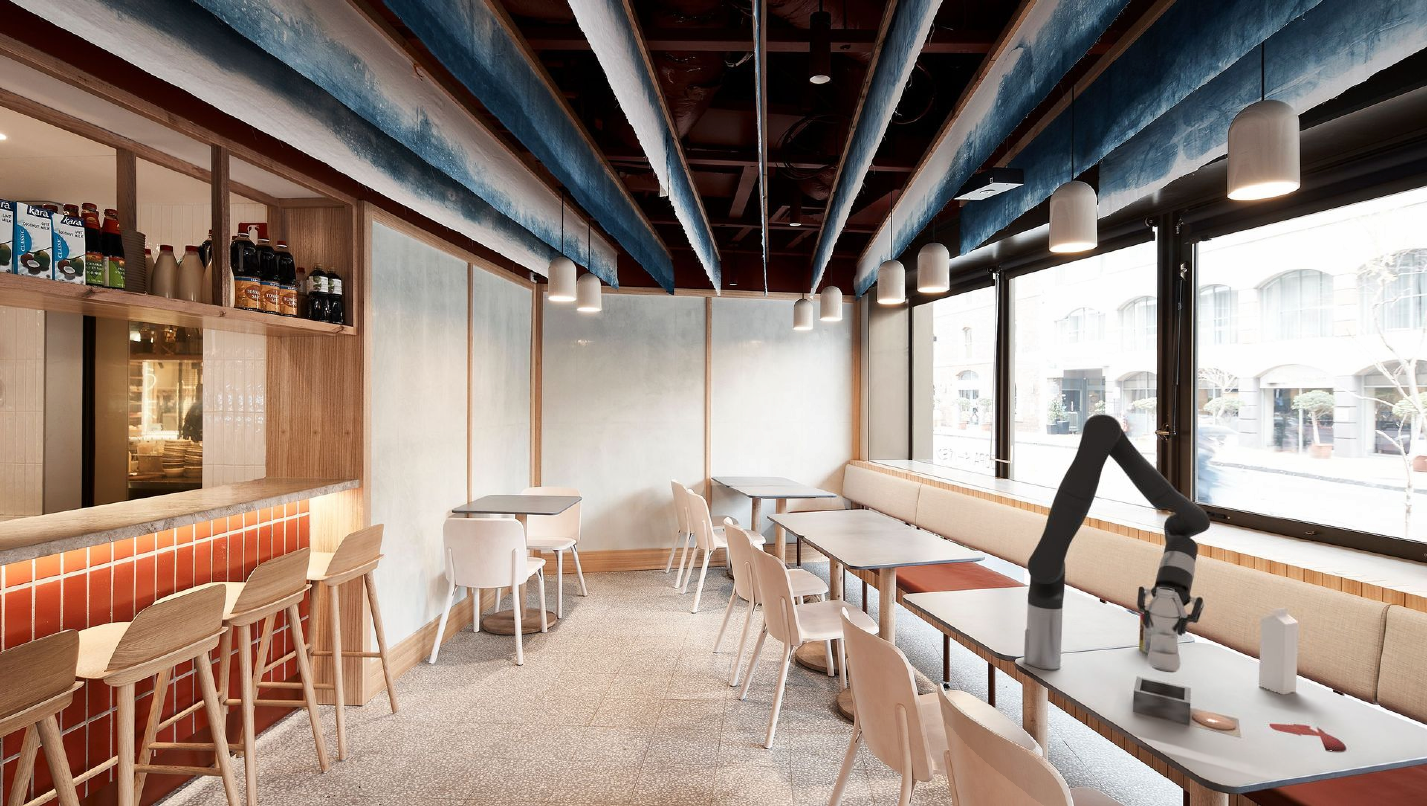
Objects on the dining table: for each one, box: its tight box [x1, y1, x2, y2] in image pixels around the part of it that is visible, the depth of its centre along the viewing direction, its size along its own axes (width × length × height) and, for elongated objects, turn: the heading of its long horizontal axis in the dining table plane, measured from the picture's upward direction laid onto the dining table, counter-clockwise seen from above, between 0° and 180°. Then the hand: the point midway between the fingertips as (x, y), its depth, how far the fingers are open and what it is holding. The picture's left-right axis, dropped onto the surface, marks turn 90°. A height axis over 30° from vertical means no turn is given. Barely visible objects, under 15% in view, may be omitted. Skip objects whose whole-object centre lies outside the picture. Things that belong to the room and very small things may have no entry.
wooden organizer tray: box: [1132, 676, 1242, 739], centre depth 170 cm, size 21×12×6 cm, turn 56°
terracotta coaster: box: [1192, 712, 1236, 730], centre depth 166 cm, size 8×8×1 cm
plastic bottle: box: [1147, 587, 1181, 673], centre depth 172 cm, size 6×7×20 cm
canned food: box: [1138, 611, 1152, 654], centre depth 219 cm, size 8×8×12 cm
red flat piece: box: [1268, 723, 1347, 752], centre depth 163 cm, size 18×14×2 cm
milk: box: [1258, 607, 1300, 696], centre depth 192 cm, size 6×6×22 cm
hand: (1163, 629), depth 171 cm, fingers closed on plastic bottle, 6 cm apart
